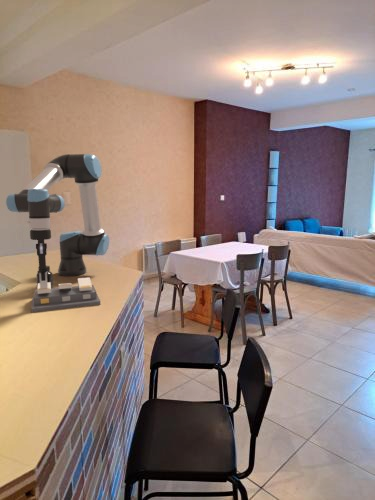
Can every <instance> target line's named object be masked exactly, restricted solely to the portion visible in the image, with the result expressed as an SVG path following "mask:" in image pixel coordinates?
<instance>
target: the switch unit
mask: <svg viewBox="0 0 375 500" xmlns="http://www.w3.org/2000/svg"><path fill="white" fill-rule="evenodd" d="M96 290H97V289H96V288H95V286H94V284H92V290H88V291H80V290H79V285H77V286H74V285H72V288H65V289H59V287H53V288H52V289H51V293H42V294H38V292H37V289H34V293H33V296H32V298H31V304H30V305H31V306H30V312H31V313H37V312H38V313H39V312H47V311H48V312H49V311H56V310H64V309H75V308H81V307H91V306H92V307H93V306H101V299H100V298H99V295H98V293H97V291H96Z"/></svg>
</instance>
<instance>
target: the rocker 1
mask: <svg viewBox="0 0 375 500" xmlns="http://www.w3.org/2000/svg"><path fill="white" fill-rule="evenodd" d="M47 285H48V288H44V289H40V283H38V288H37V287H36V290H37V292H38V294H42V293H51V282H47Z"/></svg>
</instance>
